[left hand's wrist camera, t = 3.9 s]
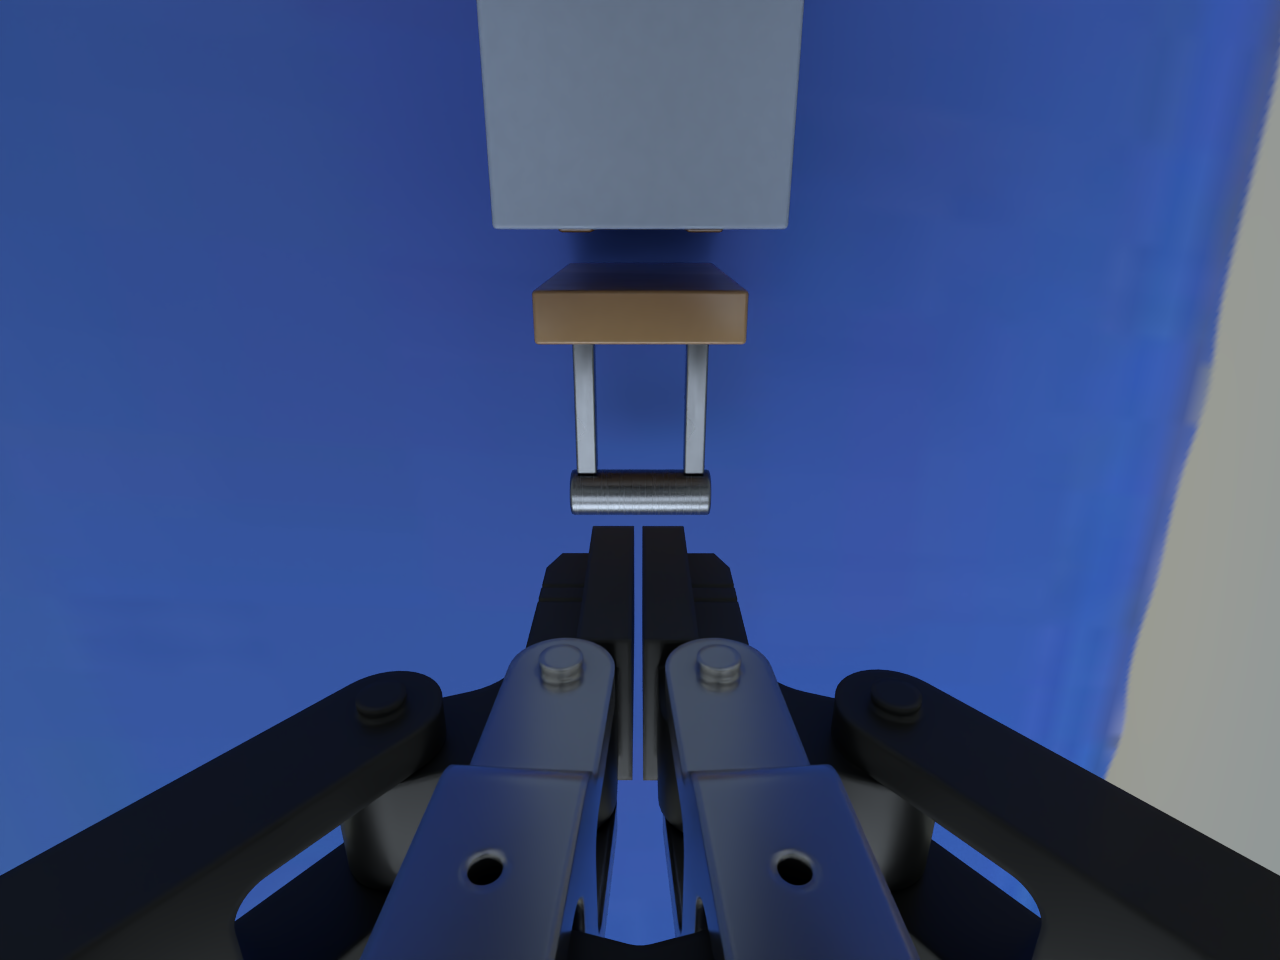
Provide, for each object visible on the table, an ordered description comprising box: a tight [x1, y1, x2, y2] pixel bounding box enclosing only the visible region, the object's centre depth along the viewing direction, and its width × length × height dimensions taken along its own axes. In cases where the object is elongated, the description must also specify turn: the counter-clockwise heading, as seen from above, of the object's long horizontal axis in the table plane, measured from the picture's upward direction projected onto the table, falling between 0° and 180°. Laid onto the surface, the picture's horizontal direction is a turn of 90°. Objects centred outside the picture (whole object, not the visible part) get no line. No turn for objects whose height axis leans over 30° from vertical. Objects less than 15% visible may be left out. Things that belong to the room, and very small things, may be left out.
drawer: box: [532, 229, 749, 515], centre depth 18 cm, size 22×5×8 cm, turn 0°
